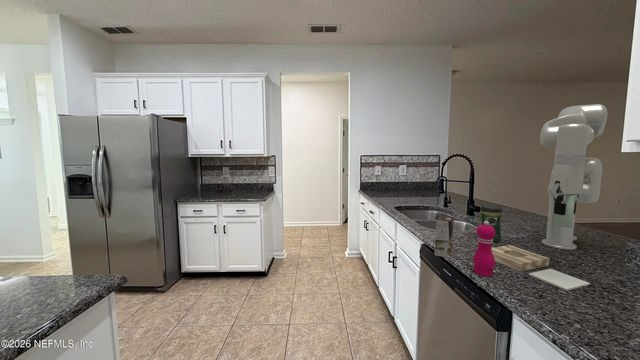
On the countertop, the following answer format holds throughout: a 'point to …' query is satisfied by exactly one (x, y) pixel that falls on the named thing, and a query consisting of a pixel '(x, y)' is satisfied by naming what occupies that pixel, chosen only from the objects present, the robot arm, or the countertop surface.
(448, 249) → the coffee box
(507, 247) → the wooden square frame
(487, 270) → the pepper mill
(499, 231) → the coffee jar
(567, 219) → the peg
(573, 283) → the mat
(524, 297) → the countertop surface
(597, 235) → the countertop surface
